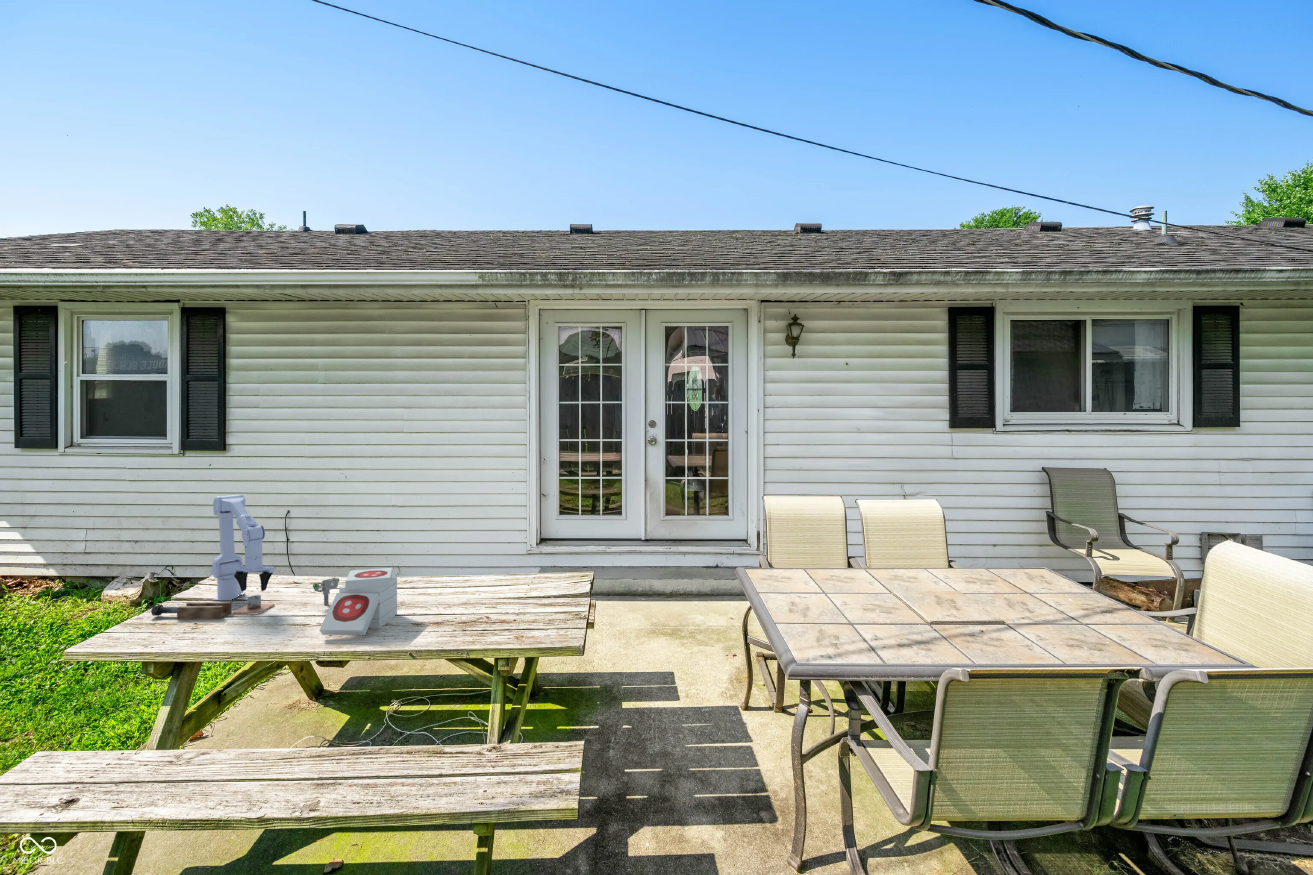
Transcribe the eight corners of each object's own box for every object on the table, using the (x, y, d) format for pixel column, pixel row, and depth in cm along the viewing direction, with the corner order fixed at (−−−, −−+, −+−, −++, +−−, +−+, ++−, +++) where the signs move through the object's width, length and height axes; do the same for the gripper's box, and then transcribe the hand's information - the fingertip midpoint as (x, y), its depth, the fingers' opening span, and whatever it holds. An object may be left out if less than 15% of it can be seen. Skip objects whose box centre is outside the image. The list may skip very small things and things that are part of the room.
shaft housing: (177, 619, 221) (176, 607, 221) (188, 613, 227) (188, 602, 227) (221, 618, 222) (221, 606, 222) (231, 613, 228) (231, 602, 228)
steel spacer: (251, 606, 235) (251, 594, 234) (263, 605, 235) (263, 594, 235) (244, 609, 230) (244, 598, 230) (256, 609, 230) (256, 598, 230)
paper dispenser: (313, 640, 202) (313, 589, 201) (357, 611, 232) (357, 567, 231) (369, 641, 202) (369, 589, 202) (405, 612, 232) (405, 567, 232)
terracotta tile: (248, 605, 237) (248, 603, 237) (274, 605, 238) (274, 603, 238) (232, 614, 227) (232, 612, 227) (259, 613, 228) (259, 611, 228)
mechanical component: (311, 607, 236) (311, 583, 236) (335, 600, 245) (335, 577, 245) (316, 608, 235) (316, 584, 235) (340, 601, 244) (340, 578, 244)
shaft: (151, 617, 221) (151, 606, 221) (159, 613, 225) (159, 603, 225) (205, 616, 223) (205, 606, 222) (212, 613, 227) (212, 602, 226)
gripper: (227, 558, 227) (228, 593, 228) (266, 558, 228) (266, 593, 229) (239, 554, 234) (239, 587, 235) (277, 554, 235) (277, 587, 236)
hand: (253, 590), depth 232 cm, fingers open, 7 cm apart
